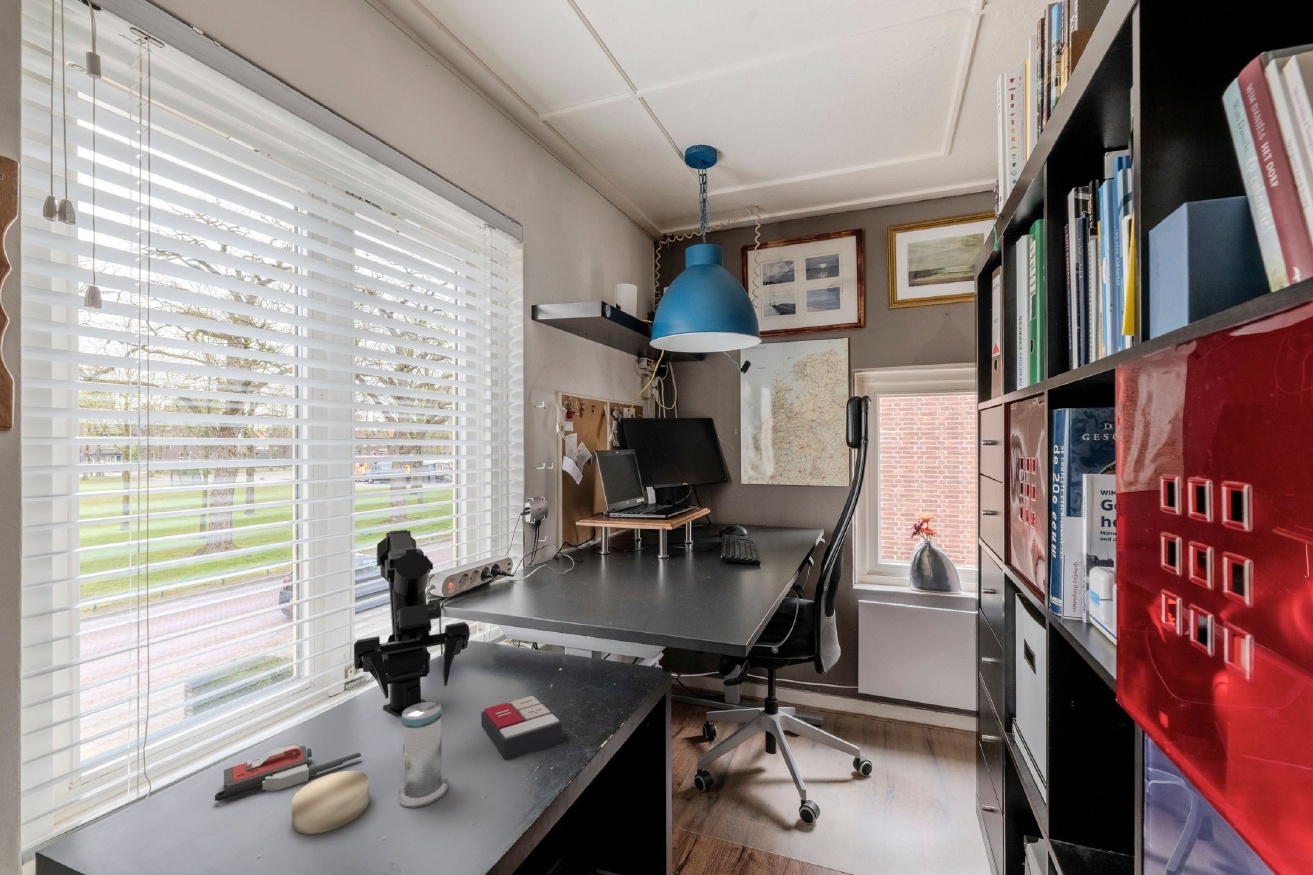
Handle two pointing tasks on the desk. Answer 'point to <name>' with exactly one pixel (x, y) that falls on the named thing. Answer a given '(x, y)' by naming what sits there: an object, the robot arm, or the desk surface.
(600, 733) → the desk surface
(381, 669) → the robot arm
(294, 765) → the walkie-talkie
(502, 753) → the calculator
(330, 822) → the stand
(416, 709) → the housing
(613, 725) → the desk surface
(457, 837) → the desk surface
